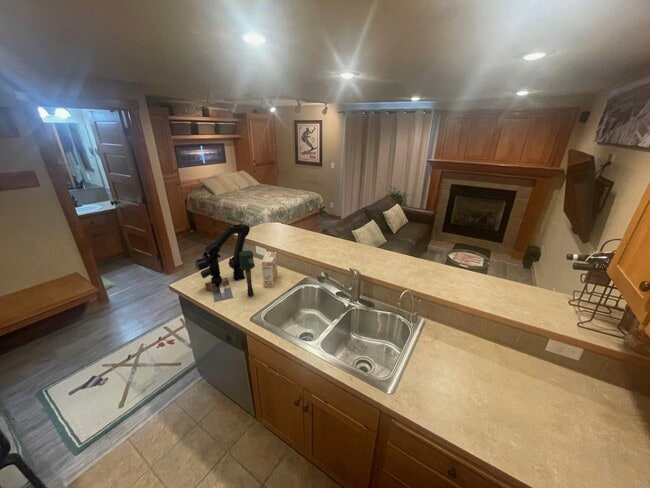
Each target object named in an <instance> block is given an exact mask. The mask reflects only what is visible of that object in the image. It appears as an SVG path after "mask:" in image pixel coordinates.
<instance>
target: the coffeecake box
mask: <svg viewBox="0 0 650 488" xmlns="http://www.w3.org/2000/svg"><path fill="white" fill-rule="evenodd" d="M261 267H262V268H261V269H262V279H263V282H262V283H263V288H275V285H276V282H277V279H278V277H279V276H278V275H279V274H278V260H277V251H266V253H265V254H264V257H263V258H262V260H261Z"/></svg>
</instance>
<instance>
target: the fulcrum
mask: <svg viewBox="0 0 650 488" xmlns="http://www.w3.org/2000/svg"><path fill="white" fill-rule="evenodd" d="M219 286H220V288H219V289H215V290H212V295H213V302H214V303H217V302H220V301H225V300H229V299H234V295H233V292H232V287H226V288H224V287H223V284H222V285H219Z"/></svg>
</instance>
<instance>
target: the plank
mask: <svg viewBox="0 0 650 488" xmlns="http://www.w3.org/2000/svg"><path fill="white" fill-rule="evenodd" d="M229 280H230V279H228V277H223V278H222V282H220V285H222V284H223V288H224V287H227V286H229V285H230V281H229ZM204 285H205V286H204V287H205V289H206V292H210V291H215V290H218V289H220V286H219V287H217V286H216V284H215V283H214V284H212V282H211V281H208V282H205V283H204Z"/></svg>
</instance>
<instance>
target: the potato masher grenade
mask: <svg viewBox="0 0 650 488" xmlns="http://www.w3.org/2000/svg"><path fill="white" fill-rule="evenodd" d="M239 257H240V268H241V269H243V270H245V271H244V274H245V277H246V284H247V297H253V296H254V295H255V293H254V289H253V282H252V271H251V270H252V269H253V268H255V266H256V265H255V261H254V252H253V250H252V251H251V250H242V252H240V253H239Z"/></svg>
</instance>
